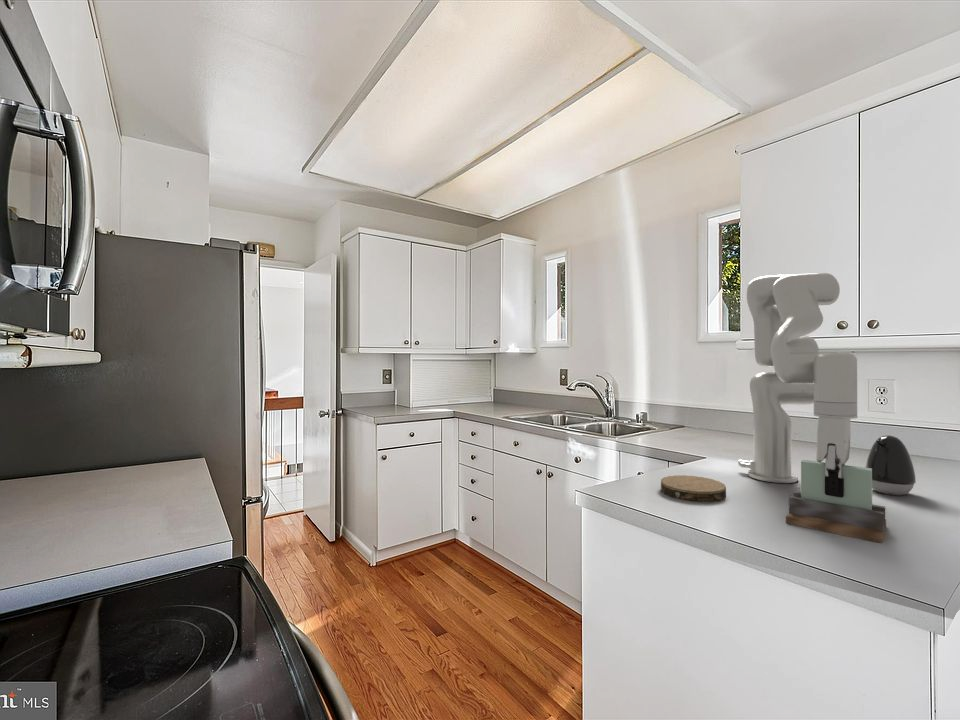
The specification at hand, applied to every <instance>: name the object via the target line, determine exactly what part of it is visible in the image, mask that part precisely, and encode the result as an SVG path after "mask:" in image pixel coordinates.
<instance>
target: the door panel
mask: <svg viewBox="0 0 960 720" xmlns="http://www.w3.org/2000/svg"><path fill="white" fill-rule="evenodd" d="M842 478H843V479H844V496H843V497H835V496H829V495H826V494H825V461H821V462H818V461H817V460H808V459H802V460H801V461H800V493H801V498H805V499H810V500H816V501H822V502H828V503H833V504H839V505H845V506H850V507H856V508H862V509H868V510H872V505H873V488H872V468H865V467H863V466H854V465H847V464H845V465H842Z"/></svg>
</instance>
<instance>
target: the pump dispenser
mask: <svg viewBox="0 0 960 720" xmlns="http://www.w3.org/2000/svg"><path fill="white" fill-rule="evenodd" d="M905 445H906V444H904V443H903V441H902V440H901V439H899V438H898V437H897V436H894V435H882V436H880V437H878V438H877V439H876V440H875V442H874V443H873V444H872V446H871V448H870V450H869V452H868V456H867V458H866V462H865V467H864V468H872V490H874V491H876V492H878V493H880V492H881V493H880V494H883V493H885V495H889V494H891V495H890V496H902V495H903V496H904V495H906V494H908V493H910V492H911V491H912V490H913V488H914V486H915V484H916V483H917V478H916V472H915V471H916V470H915V467H914V464H913V460H912V458H911V455H910V453H909V451H908V449H907V447H906V446H905Z"/></svg>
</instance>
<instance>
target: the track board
mask: <svg viewBox="0 0 960 720" xmlns="http://www.w3.org/2000/svg"><path fill="white" fill-rule="evenodd" d="M785 524H789V525H794V526H798V527H803V528H808V529H812V530H818V531H822V532H826V533H831V534H837V535H841V536H845V537H850V538H856V539H861V540H863V541H864V540H866V541H870V542H875V543H879V544H883V542H884V537H885V533H886V528H887V519H886V506H882V505H878V504H877V505H876V504H872V510H868V509H862V508H856V507H850V506H845V505H839V504H833V503H828V502H822V501H816V500H810V499H805V498H801V491H793V493H792V495H789V496H788V513H787V514H786V516H785Z"/></svg>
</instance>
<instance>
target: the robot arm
mask: <svg viewBox="0 0 960 720" xmlns="http://www.w3.org/2000/svg"><path fill="white" fill-rule="evenodd" d="M840 290H841V289H840V283H839V281H838V280H837V278H836V277H835V276H834V275H833V274H831V273H827V272H819V273H815V272H814V273H797V274H777V275H776V274H775V275H764V276H759V277H756V278H754V279H752V280H751V281H750V282H749V283H748V285H747V289H746V301H747V305H748V309H749V311H750V314H751V317H752V321H753V333H754V334H753V335H754V337H753V338H754V342H753V343H754V358H755V362H756V363H757V365H758V366H760V367H762V368H763V367H764V368H773V369H774V371H765V372H759V373H757V374H755V375H753V376H752V377H751V379H750V382H749V390H750V391H749V392H750V395H751V396H750V397H751V403H752V413H753V414H752V415H753V459H751V460H750V461H749V460H746V459H745V460H744V459H738V467H740V468H747V469H749V470H748V471H747V476H748V477H750V478H751V479H755V480H758V481H761V482H766V483H767V482H769V483H776V484H790V483H797V482H798V480H799V477H798V475H797V474H794V473H792V420H791V417H790V416H789V414H788V413H787V412H786V411H785V409H784V408H783V407H782V406H784V405H785V406H786V405H796V406H798V405H799V406H800V405H805V406H806V405H813V416H814V417H818V422H817V433H816V434H817V436H816V457H815V459H816V460H815V461H817V462H825V494H826V495H829V496H835V497H843V496H844V479H843V478H842V465H846V463H847V462H848V461H849V459H850V452H851V451H850V450H851V419H858V358H857V357H856V356H855V355H854V354H853V353H848V352H836V351H835V352H833V351H820V349H819V346H818V343H817V341H816V340H815V338H813V337H812V336H809V334H812V333H814V332H815V331H816V330H818V329H819V328H820V327H821V326H822V325H823V322H824V316H823V313H822V312H821V308H820V307H819V306H831V305H832V304H835V303H836V302H837V300H838V299H839V296H840V292H841V291H840ZM824 460H825V461H824Z"/></svg>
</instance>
